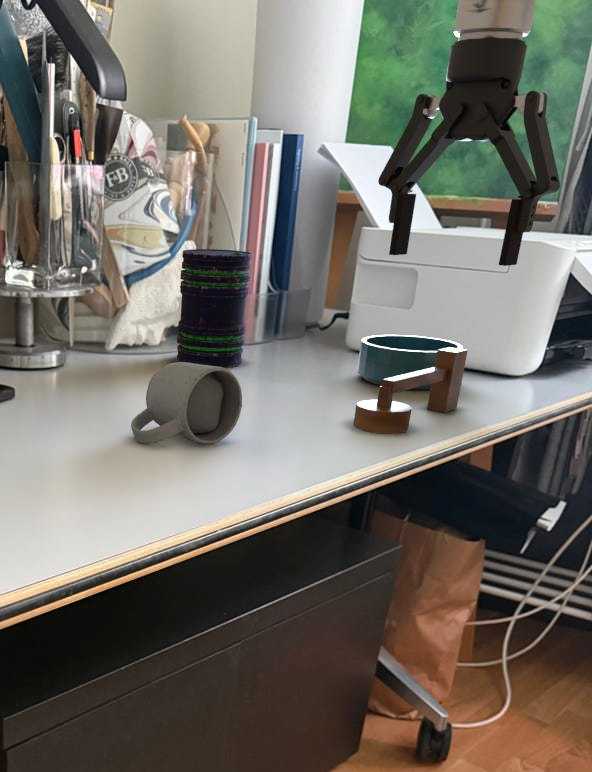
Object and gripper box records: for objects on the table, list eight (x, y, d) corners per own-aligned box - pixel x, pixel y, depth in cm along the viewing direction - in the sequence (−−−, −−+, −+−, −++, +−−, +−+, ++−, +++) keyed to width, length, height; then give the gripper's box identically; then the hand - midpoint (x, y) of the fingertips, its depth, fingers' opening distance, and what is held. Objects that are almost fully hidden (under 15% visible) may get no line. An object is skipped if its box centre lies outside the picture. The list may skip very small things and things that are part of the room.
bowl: (462, 378, 131) (470, 341, 129) (446, 395, 121) (453, 355, 119) (369, 367, 137) (374, 332, 134) (345, 383, 126) (350, 345, 124)
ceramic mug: (192, 422, 104) (196, 351, 101) (241, 439, 98) (246, 364, 95) (114, 435, 99) (115, 361, 96) (160, 454, 93) (163, 376, 90)
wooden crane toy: (425, 402, 117) (435, 344, 113) (470, 411, 113) (482, 352, 110) (343, 426, 105) (351, 362, 102) (390, 436, 101) (400, 371, 98)
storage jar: (167, 364, 135) (173, 252, 128) (184, 353, 143) (190, 247, 136) (235, 370, 132) (245, 256, 125) (248, 358, 140) (258, 251, 134)
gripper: (366, 43, 102) (339, 251, 112) (597, 26, 86) (543, 271, 96) (402, 49, 107) (374, 249, 117) (628, 35, 91) (573, 268, 101)
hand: (450, 259), depth 106 cm, fingers open, 13 cm apart
